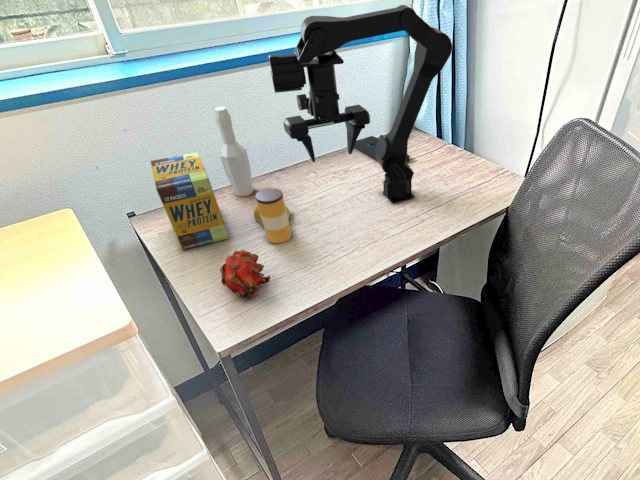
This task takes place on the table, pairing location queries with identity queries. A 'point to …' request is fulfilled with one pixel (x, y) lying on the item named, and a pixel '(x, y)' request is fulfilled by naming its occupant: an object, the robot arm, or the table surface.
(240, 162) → the low poly bottle
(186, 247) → the protein box
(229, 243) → the table surface
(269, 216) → the tube
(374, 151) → the smart home device
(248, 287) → the dragon fruit
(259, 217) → the bread roll
